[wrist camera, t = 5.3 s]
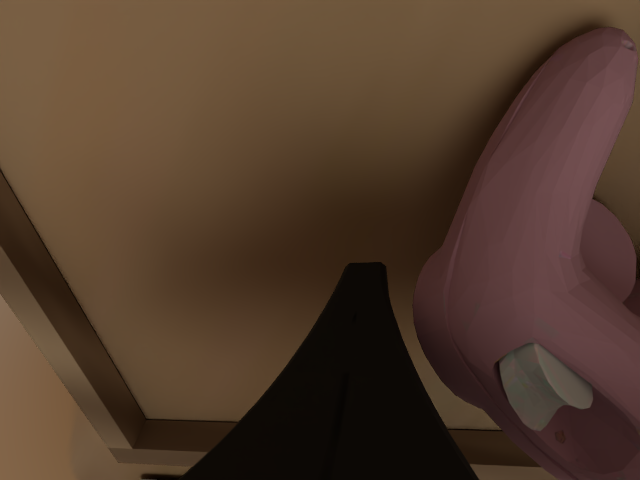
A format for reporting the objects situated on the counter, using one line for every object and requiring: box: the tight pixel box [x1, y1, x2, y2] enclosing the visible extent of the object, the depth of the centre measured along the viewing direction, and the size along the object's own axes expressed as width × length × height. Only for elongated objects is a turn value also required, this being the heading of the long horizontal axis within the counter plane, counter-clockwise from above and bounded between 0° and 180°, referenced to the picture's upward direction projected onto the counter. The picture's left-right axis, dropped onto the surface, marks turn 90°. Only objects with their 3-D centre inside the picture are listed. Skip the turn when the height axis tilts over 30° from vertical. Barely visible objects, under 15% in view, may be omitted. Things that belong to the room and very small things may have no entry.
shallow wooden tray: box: [0, 172, 559, 480], centre depth 12 cm, size 18×24×1 cm
